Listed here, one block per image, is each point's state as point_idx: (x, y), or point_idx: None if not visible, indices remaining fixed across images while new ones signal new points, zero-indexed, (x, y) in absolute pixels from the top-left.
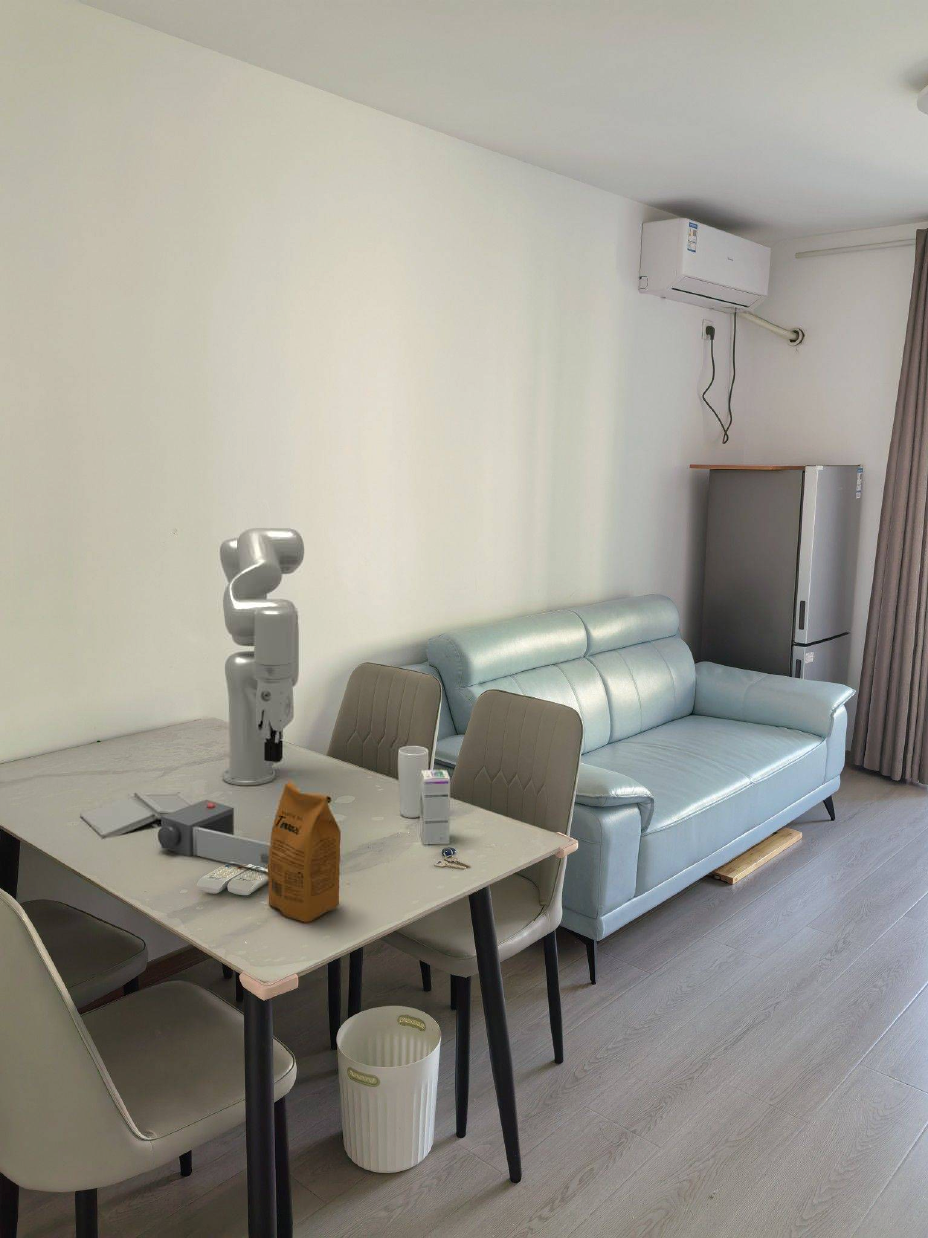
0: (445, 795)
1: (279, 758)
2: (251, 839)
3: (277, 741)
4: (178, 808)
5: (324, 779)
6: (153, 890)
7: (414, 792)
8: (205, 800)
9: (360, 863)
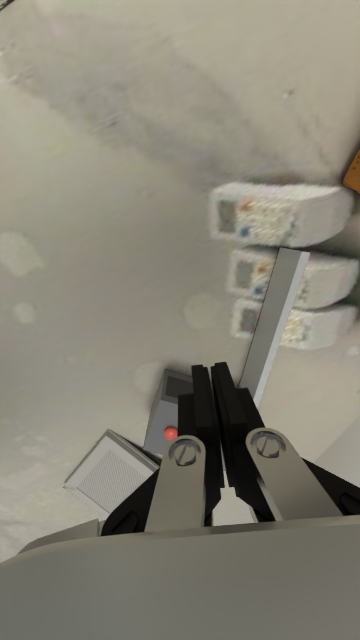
0: None
1: (228, 369)
2: (282, 313)
3: (286, 440)
4: (124, 467)
5: None
6: (354, 385)
7: None
8: (147, 449)
9: (194, 107)
